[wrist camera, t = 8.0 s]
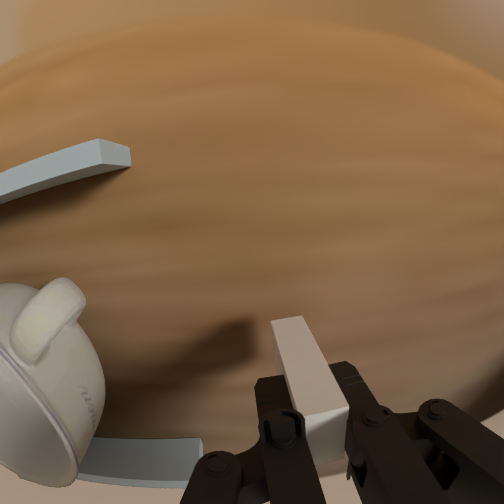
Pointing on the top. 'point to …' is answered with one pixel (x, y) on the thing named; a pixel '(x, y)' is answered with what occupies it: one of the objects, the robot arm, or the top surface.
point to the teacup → (46, 382)
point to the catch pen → (100, 449)
